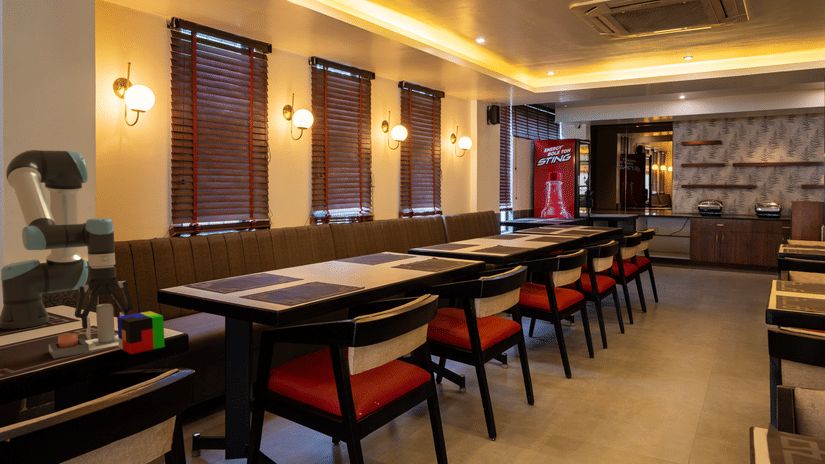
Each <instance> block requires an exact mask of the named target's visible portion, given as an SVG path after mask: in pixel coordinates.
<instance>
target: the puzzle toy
mask: <svg viewBox="0 0 825 464" xmlns="http://www.w3.org/2000/svg"><path fill="white" fill-rule="evenodd" d="M116 321H117V335H118V341H119V346H118V348H119V349H121V350H123V351H124V352H126V353H127V354H129V355H136V354H139V353H143V352H149V351H152V350H156V349H157V350H158V349H161V348H165V347H166V345H165V331H164V330H165V327H164V326H165V325H164V316H163V315H162V314H159V313H156V312H154V311H150V310H149V311H144V312H136V313H132V314H128V315H125V316H120V315H119V316H117V317H116Z"/></svg>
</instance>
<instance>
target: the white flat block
mask: <svg viewBox="0 0 825 464" xmlns="http://www.w3.org/2000/svg"><path fill="white" fill-rule="evenodd" d="M84 340H85V339H84ZM85 341H86V342H87V343H88V346H89V352H91V351H97V350H101V349H102V350H104V349H107V348H113V347H114V348H115V347H119V341H118V334H115V340H114V341H112V342H109V343H100V342H99V341H98V337H97V338H93V339H92V338H91V339H86V340H85Z"/></svg>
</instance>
